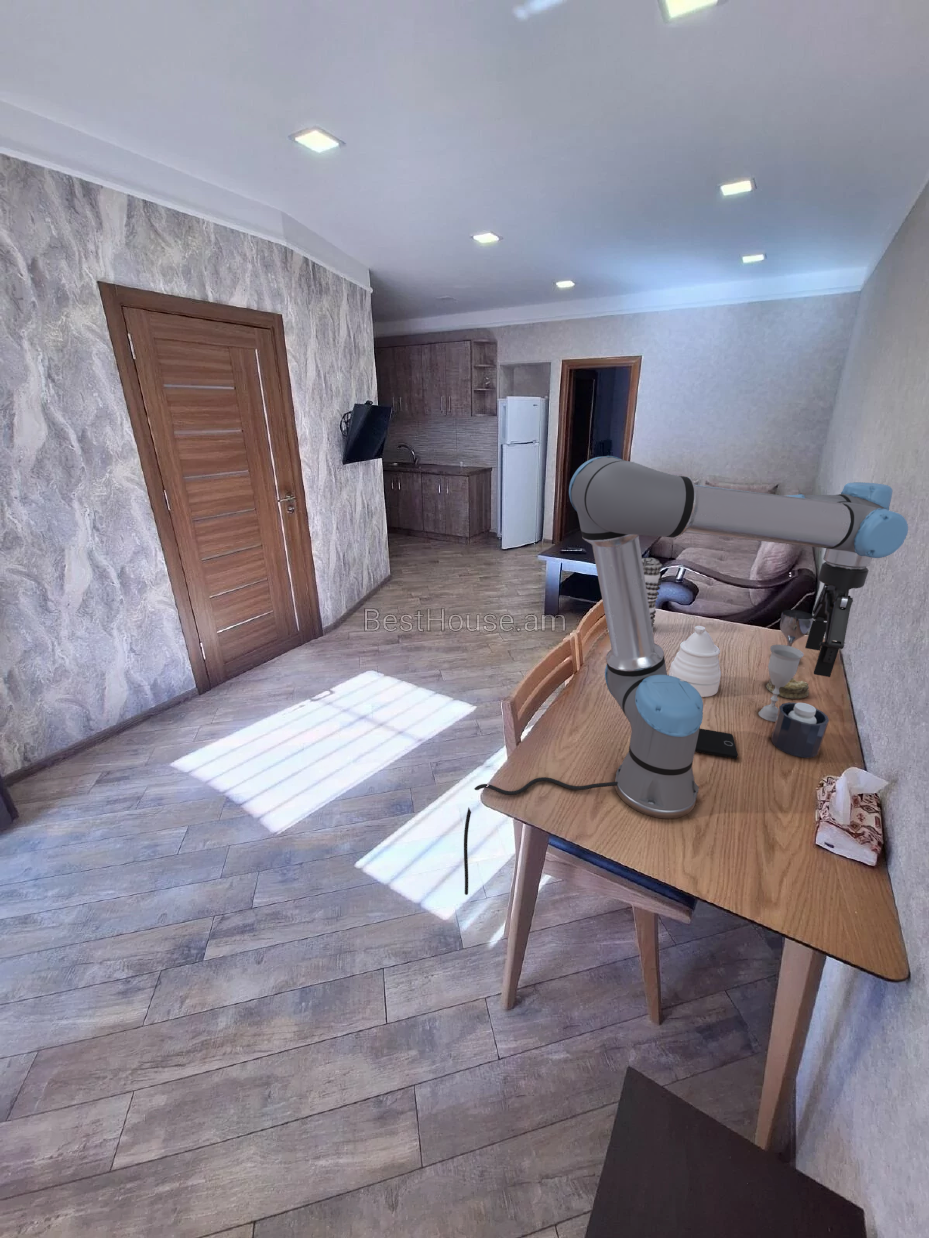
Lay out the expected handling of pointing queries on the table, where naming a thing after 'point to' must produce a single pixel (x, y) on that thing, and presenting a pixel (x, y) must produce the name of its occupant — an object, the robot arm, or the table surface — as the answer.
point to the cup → (798, 733)
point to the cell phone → (716, 743)
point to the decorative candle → (652, 583)
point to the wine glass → (795, 624)
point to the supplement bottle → (803, 713)
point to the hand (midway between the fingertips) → (816, 661)
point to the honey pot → (698, 663)
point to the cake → (791, 689)
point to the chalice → (780, 674)
